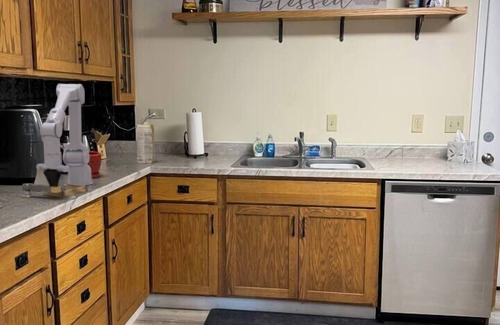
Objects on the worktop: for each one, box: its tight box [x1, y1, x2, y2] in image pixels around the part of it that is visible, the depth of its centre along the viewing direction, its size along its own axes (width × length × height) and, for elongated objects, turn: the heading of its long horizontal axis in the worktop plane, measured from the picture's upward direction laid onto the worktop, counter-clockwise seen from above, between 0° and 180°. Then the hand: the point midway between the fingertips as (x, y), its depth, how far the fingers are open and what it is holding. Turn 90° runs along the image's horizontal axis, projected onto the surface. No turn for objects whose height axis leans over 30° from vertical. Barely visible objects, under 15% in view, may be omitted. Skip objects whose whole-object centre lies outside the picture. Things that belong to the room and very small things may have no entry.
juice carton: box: [136, 122, 156, 165], centre depth 272 cm, size 9×8×24 cm
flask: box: [31, 165, 50, 192], centre depth 192 cm, size 7×7×10 cm
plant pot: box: [87, 150, 102, 179], centre depth 223 cm, size 13×13×12 cm
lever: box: [21, 182, 62, 193], centre depth 178 cm, size 16×4×2 cm, turn 71°
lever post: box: [21, 190, 35, 198], centre depth 180 cm, size 4×4×3 cm
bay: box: [42, 183, 89, 198], centre depth 187 cm, size 13×10×2 cm
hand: (53, 188), depth 179 cm, fingers closed
